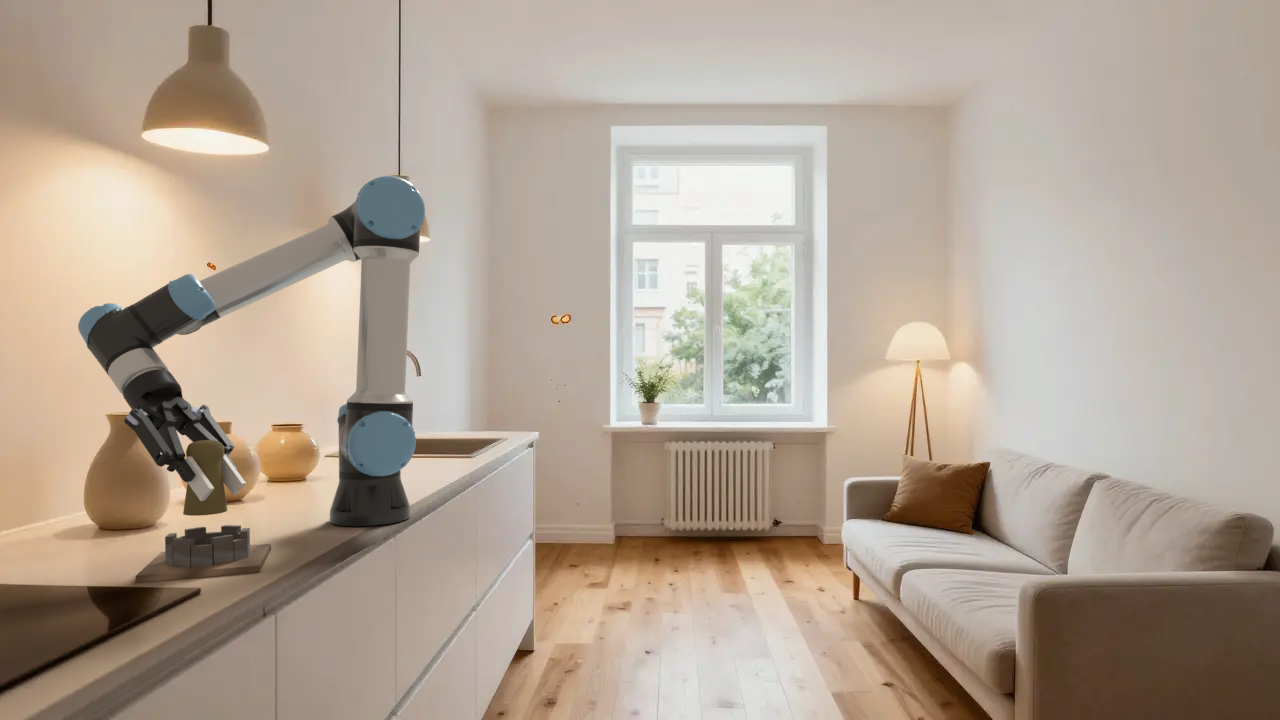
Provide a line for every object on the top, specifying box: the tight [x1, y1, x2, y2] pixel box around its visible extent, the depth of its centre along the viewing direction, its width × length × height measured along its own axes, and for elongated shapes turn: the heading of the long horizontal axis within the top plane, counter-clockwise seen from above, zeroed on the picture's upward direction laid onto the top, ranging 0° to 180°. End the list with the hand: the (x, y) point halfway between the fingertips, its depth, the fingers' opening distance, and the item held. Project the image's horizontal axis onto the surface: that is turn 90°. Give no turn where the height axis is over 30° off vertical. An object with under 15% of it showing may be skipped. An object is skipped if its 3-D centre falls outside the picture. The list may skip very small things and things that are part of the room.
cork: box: [182, 440, 228, 517], centre depth 126 cm, size 6×6×11 cm
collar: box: [135, 524, 272, 584], centre depth 126 cm, size 16×16×5 cm
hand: (223, 491), depth 124 cm, fingers closed on cork, 5 cm apart
